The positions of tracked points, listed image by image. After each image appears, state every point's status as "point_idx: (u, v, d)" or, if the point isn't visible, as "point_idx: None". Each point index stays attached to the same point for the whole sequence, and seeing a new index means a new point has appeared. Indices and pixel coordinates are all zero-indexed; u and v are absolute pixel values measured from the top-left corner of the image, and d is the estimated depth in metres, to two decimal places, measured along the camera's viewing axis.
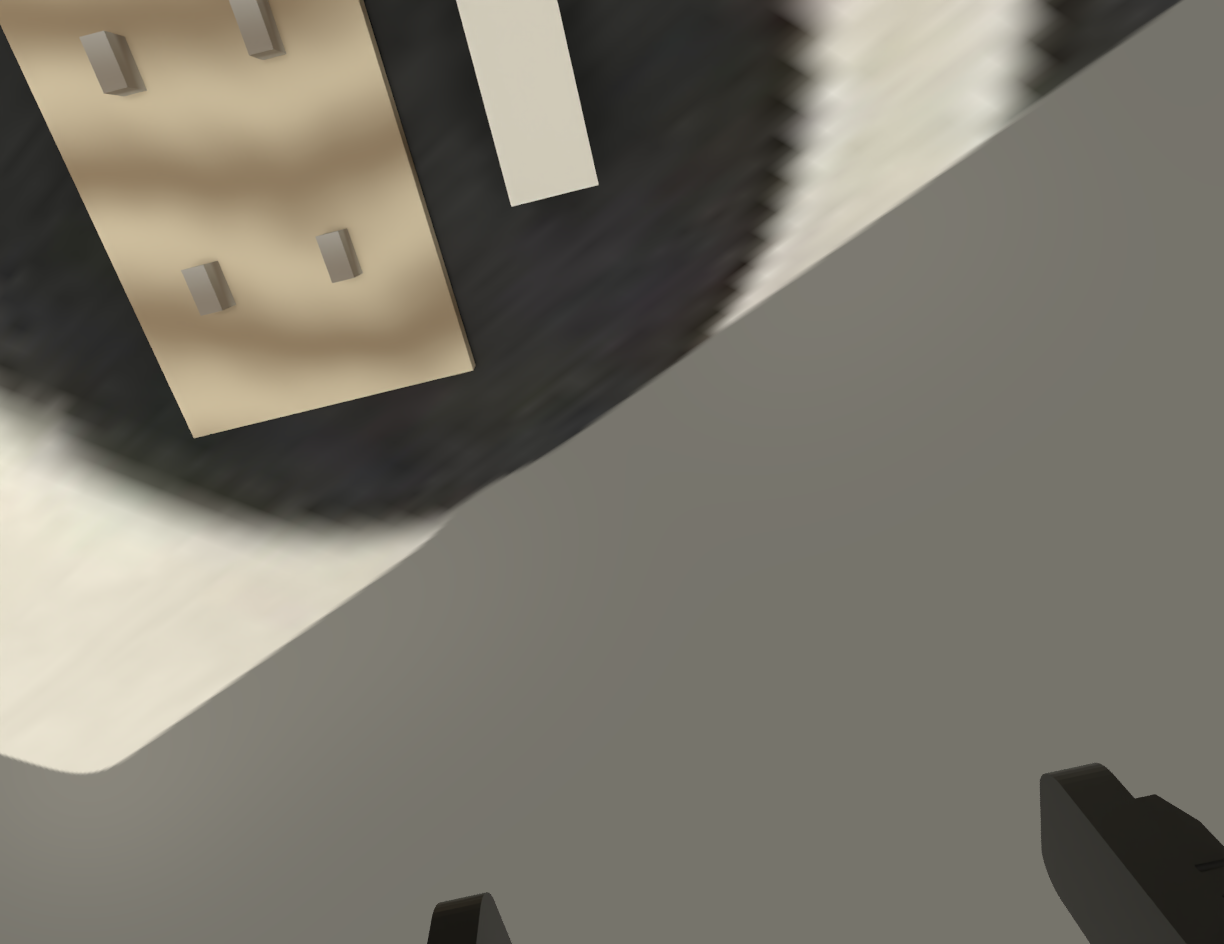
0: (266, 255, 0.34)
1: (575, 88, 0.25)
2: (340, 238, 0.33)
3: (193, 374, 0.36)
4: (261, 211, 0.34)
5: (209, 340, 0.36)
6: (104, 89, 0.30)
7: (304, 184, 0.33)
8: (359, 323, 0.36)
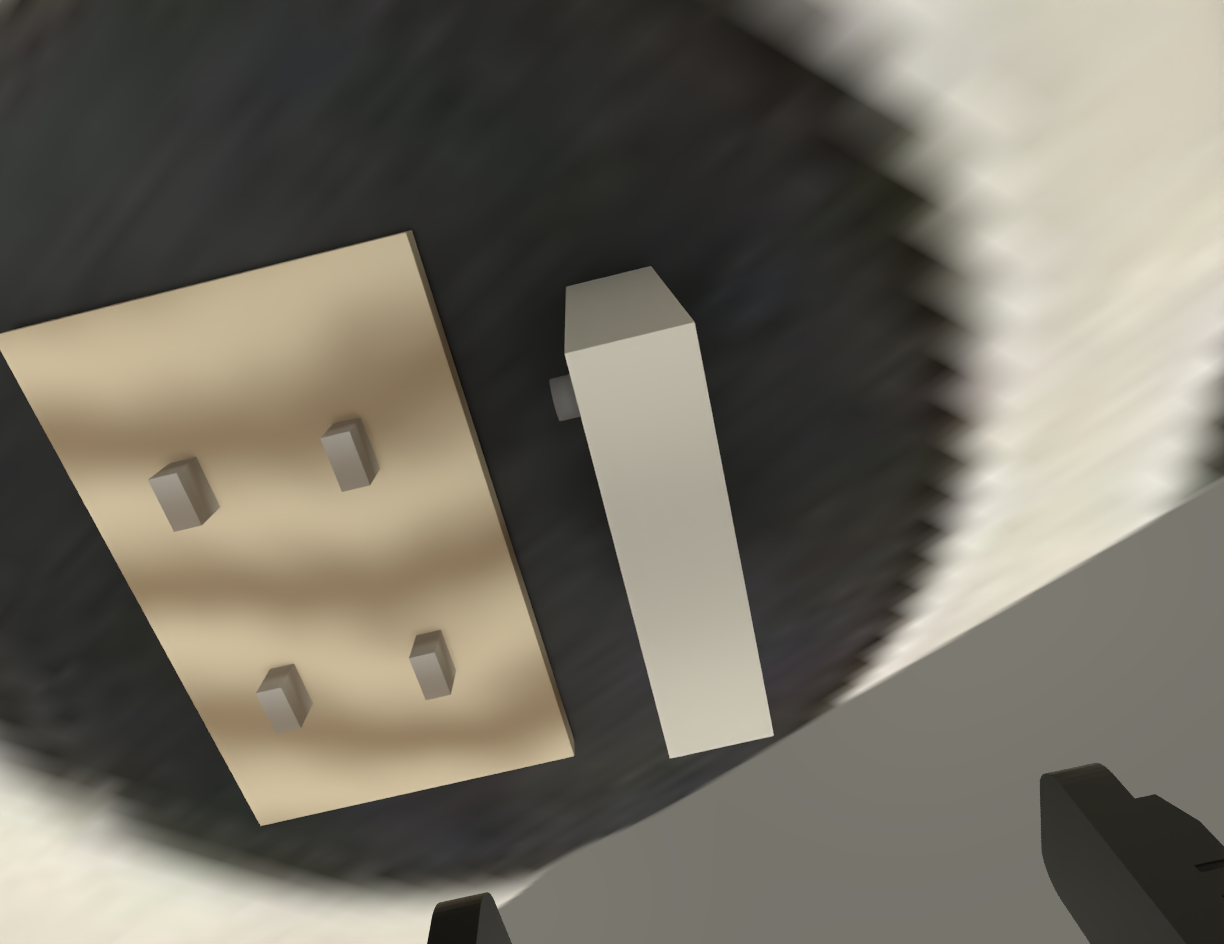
0: (348, 657, 0.30)
1: (755, 650, 0.21)
2: (437, 658, 0.29)
3: (262, 767, 0.32)
4: (345, 616, 0.30)
5: (281, 736, 0.32)
6: (175, 528, 0.26)
7: (394, 590, 0.29)
8: (449, 716, 0.32)
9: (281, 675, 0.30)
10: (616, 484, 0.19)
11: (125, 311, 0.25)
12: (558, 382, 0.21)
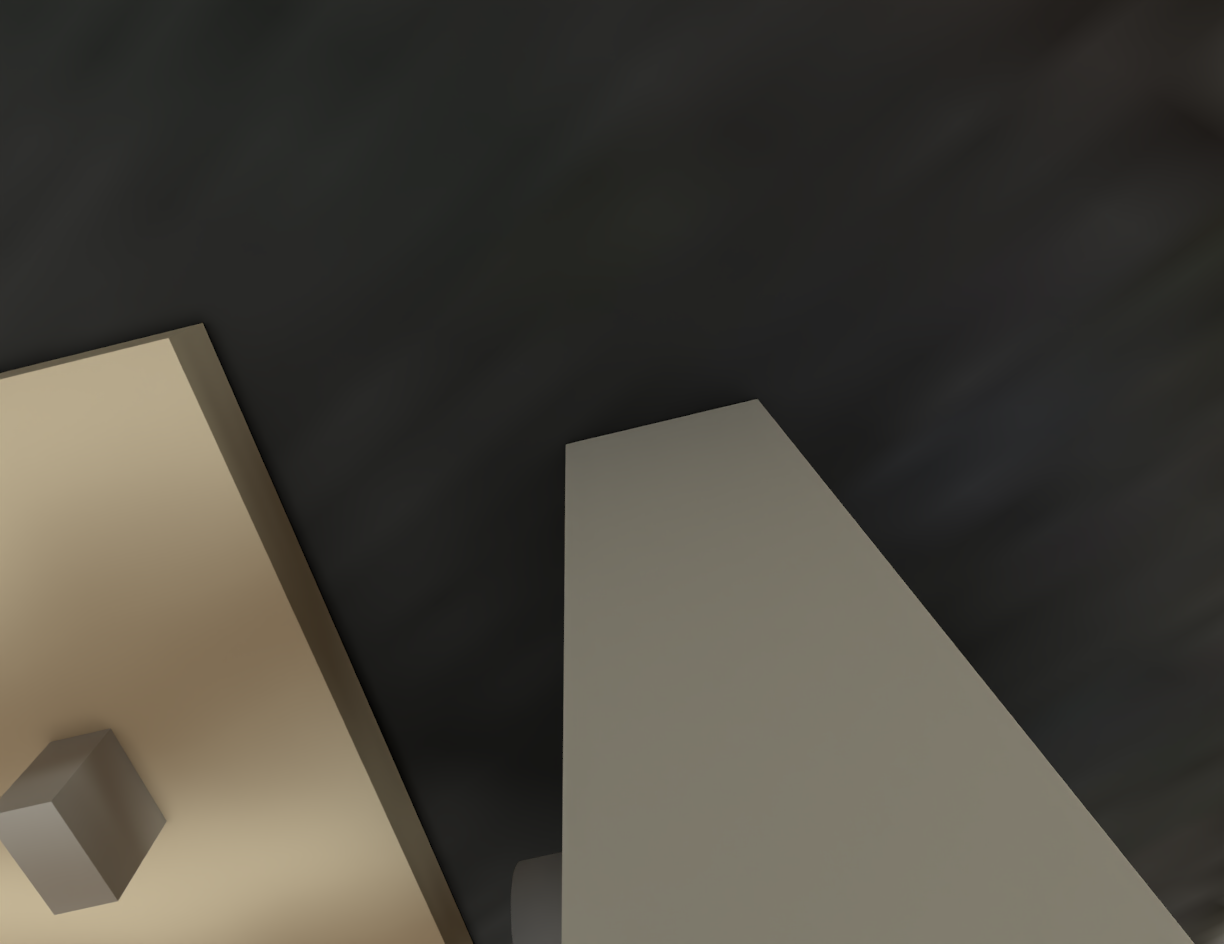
0: None
1: None
2: None
3: None
4: None
5: None
6: None
7: None
8: None
9: None
10: None
11: None
12: (540, 916, 0.06)
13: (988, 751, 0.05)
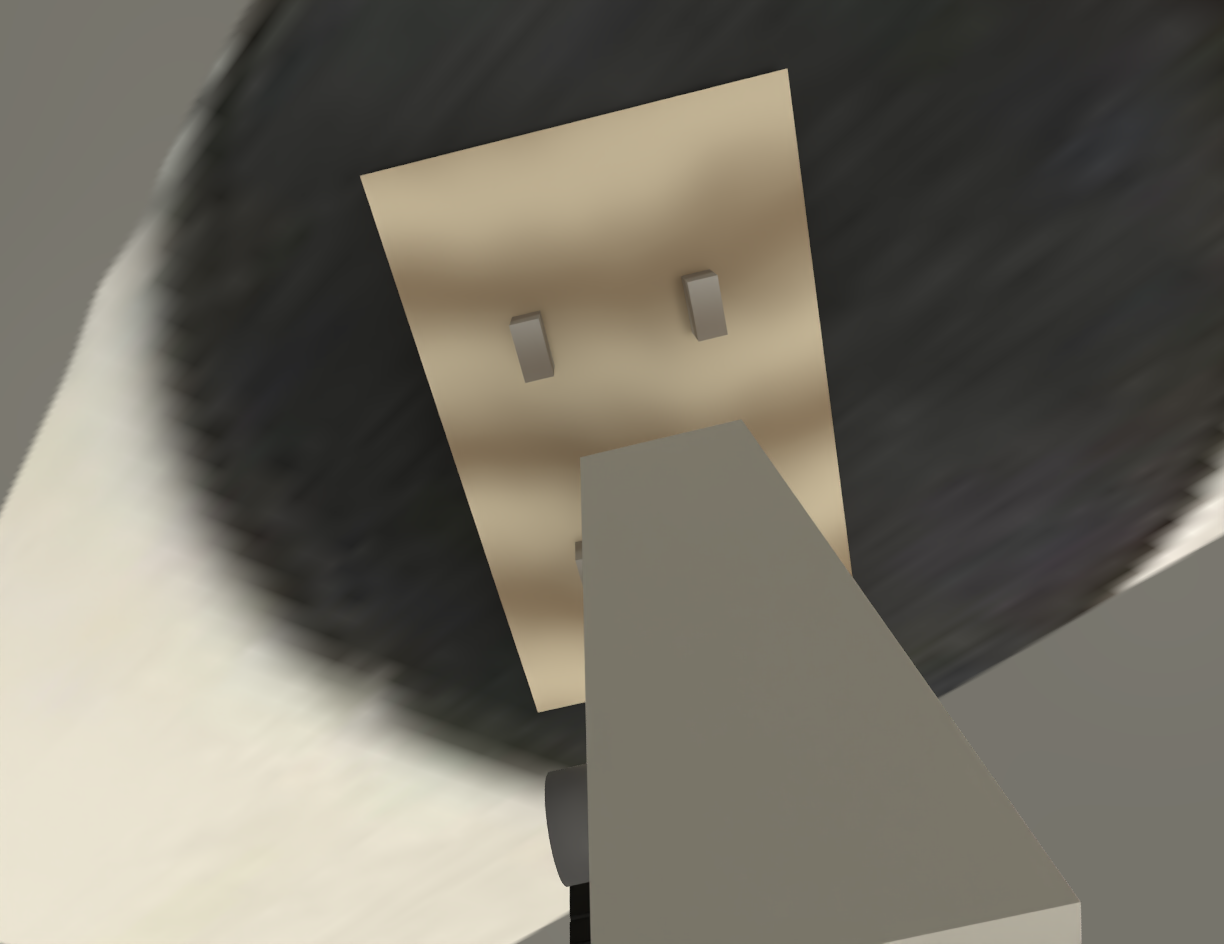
0: None
1: None
2: None
3: (550, 649, 0.32)
4: None
5: (574, 616, 0.31)
6: (526, 379, 0.26)
7: None
8: None
9: None
10: None
11: (496, 151, 0.25)
12: (567, 804, 0.08)
13: (879, 665, 0.07)
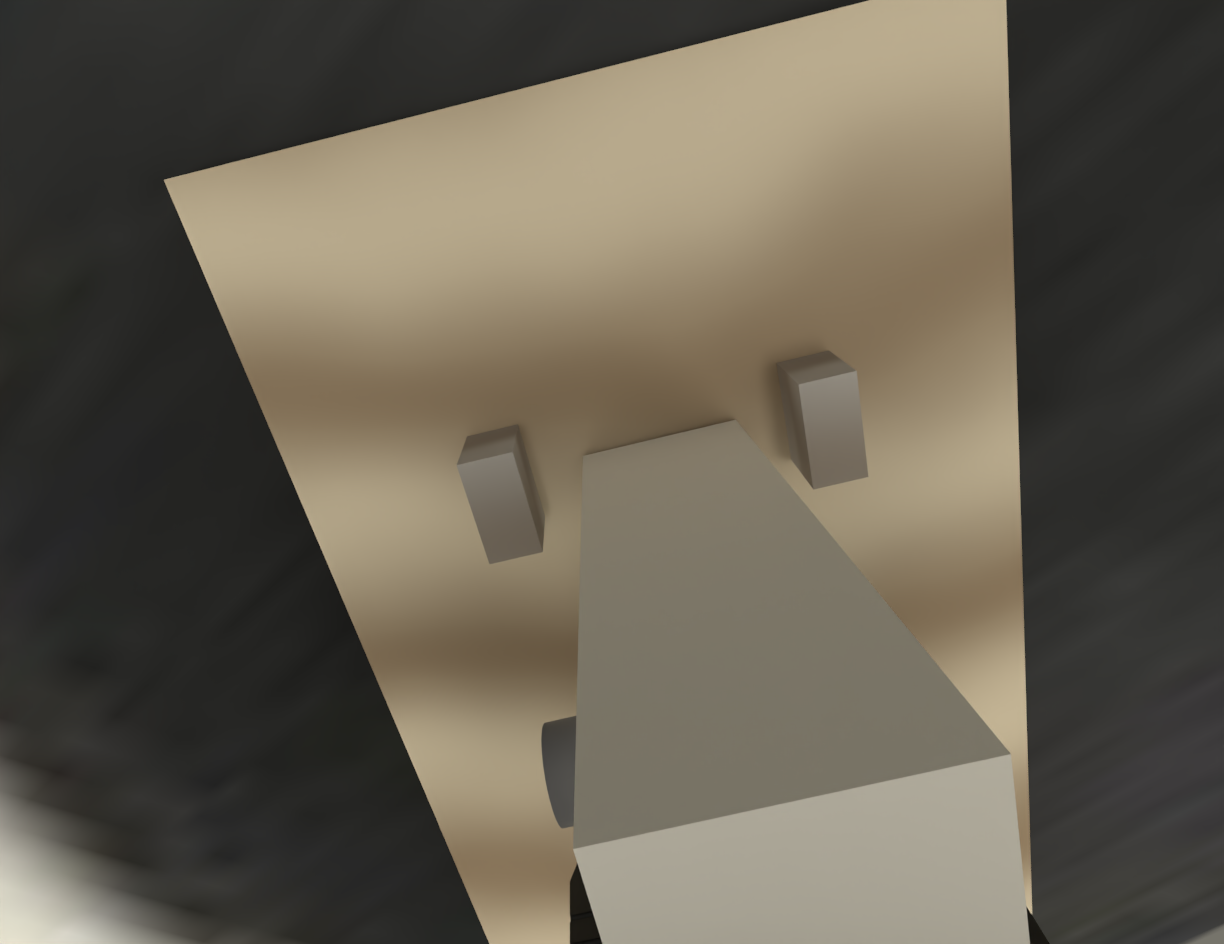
0: None
1: None
2: None
3: (540, 937, 0.20)
4: None
5: None
6: (492, 557, 0.14)
7: None
8: None
9: None
10: None
11: (428, 131, 0.13)
12: (562, 746, 0.09)
13: (848, 596, 0.08)
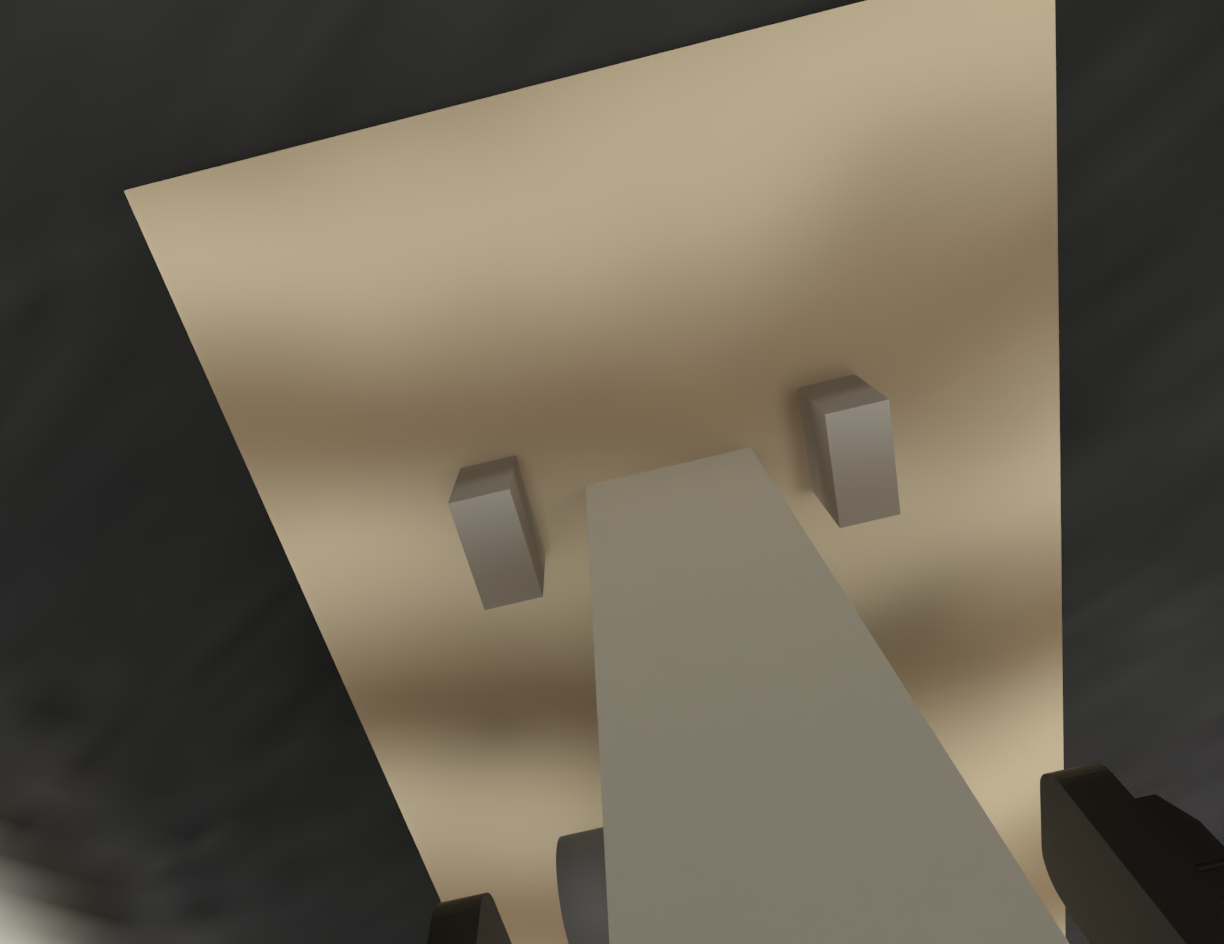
0: None
1: None
2: None
3: None
4: None
5: None
6: (487, 602, 0.13)
7: None
8: None
9: None
10: None
11: (416, 136, 0.11)
12: (579, 876, 0.08)
13: (909, 750, 0.07)
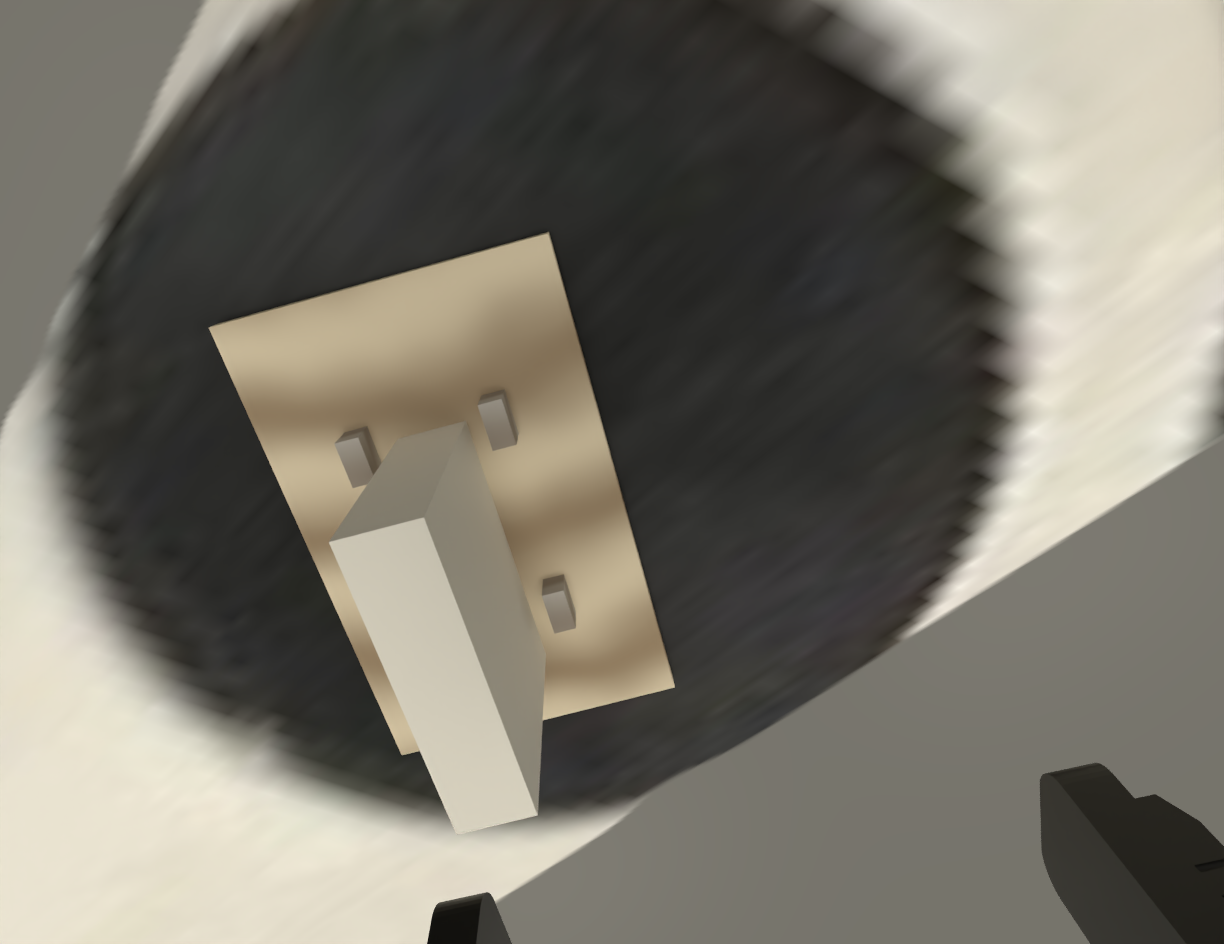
0: None
1: (511, 751, 0.26)
2: (565, 596, 0.34)
3: None
4: None
5: None
6: (353, 485, 0.32)
7: (526, 540, 0.35)
8: (568, 652, 0.37)
9: None
10: (382, 632, 0.24)
11: (317, 304, 0.31)
12: None
13: (429, 488, 0.26)
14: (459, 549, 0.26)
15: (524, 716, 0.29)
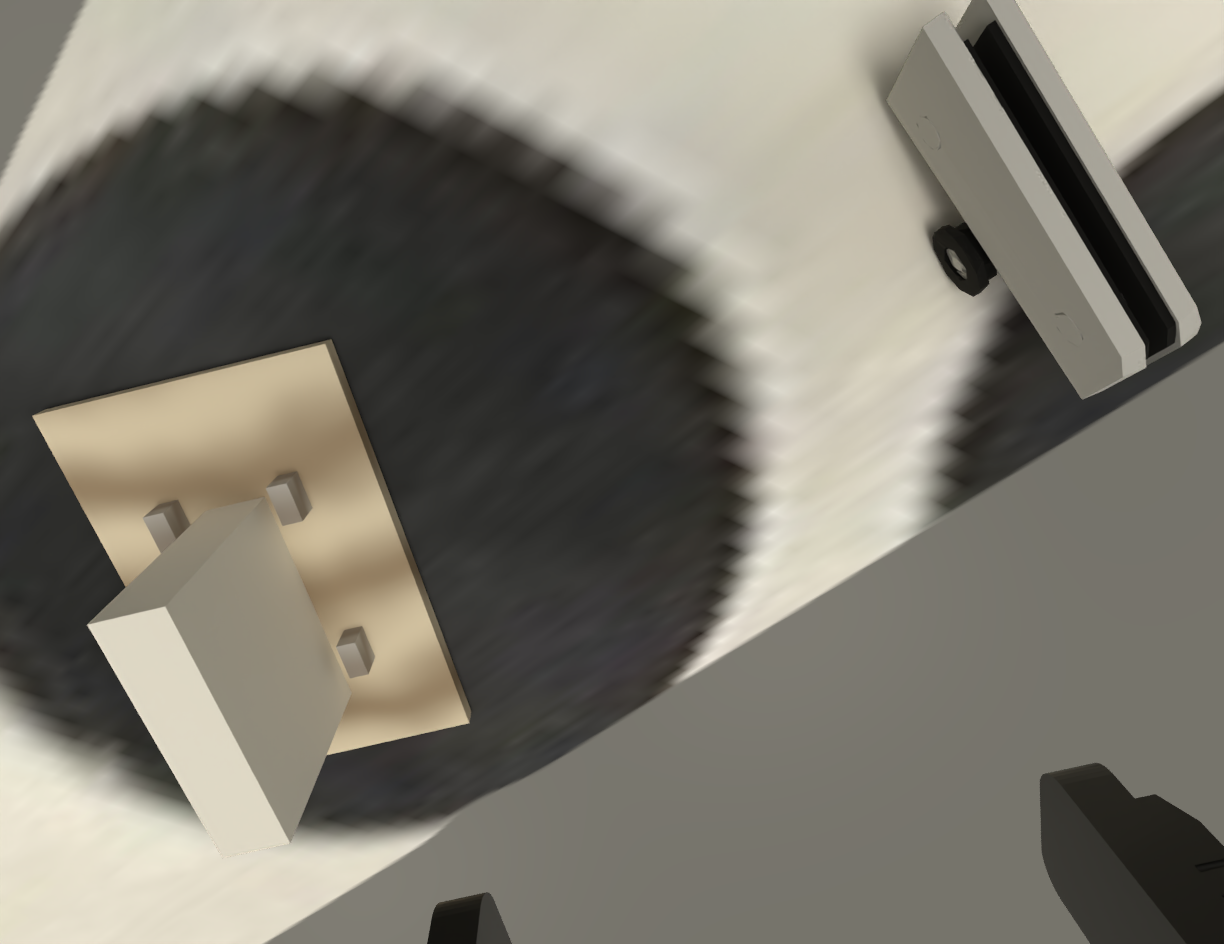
0: None
1: (261, 791, 0.32)
2: (357, 647, 0.39)
3: None
4: None
5: None
6: None
7: (326, 596, 0.40)
8: (372, 692, 0.42)
9: None
10: (140, 695, 0.30)
11: (127, 398, 0.35)
12: None
13: (189, 574, 0.31)
14: (219, 623, 0.31)
15: (292, 757, 0.34)
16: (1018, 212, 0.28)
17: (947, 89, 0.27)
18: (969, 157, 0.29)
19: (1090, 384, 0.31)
